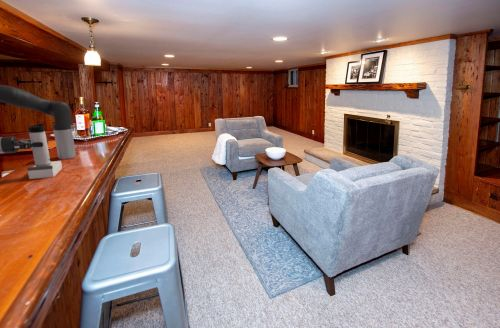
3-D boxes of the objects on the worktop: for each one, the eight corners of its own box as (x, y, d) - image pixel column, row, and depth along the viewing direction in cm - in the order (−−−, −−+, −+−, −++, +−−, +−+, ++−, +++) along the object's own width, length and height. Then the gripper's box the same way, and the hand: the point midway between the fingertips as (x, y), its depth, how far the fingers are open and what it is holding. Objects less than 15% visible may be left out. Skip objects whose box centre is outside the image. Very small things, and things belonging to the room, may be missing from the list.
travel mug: (54, 164, 148) (47, 124, 143) (41, 167, 142) (33, 125, 137) (45, 163, 150) (38, 123, 145) (32, 166, 144) (24, 125, 139)
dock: (40, 169, 155) (38, 159, 154) (62, 168, 158) (60, 158, 157) (29, 179, 140) (27, 167, 139) (53, 176, 143) (51, 165, 142)
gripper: (-6, 140, 131) (38, 137, 136) (8, 134, 144) (48, 133, 150) (-2, 156, 133) (41, 153, 138) (11, 149, 146) (50, 147, 152)
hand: (45, 143), depth 144 cm, fingers closed on travel mug, 6 cm apart
